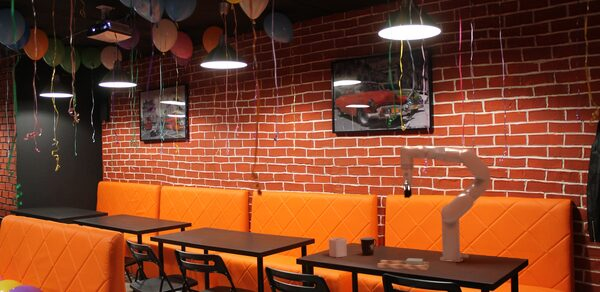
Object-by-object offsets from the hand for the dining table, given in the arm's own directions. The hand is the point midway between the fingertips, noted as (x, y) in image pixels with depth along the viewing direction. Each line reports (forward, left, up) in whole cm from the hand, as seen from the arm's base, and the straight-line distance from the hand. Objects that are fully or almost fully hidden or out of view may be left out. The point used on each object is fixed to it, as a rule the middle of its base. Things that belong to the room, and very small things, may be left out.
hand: (408, 196), depth 307 cm
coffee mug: (+25, -7, -36) cm, 44 cm away
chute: (0, +25, -36) cm, 44 cm away
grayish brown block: (-6, +25, -35) cm, 43 cm away
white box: (+43, 0, -36) cm, 56 cm away
